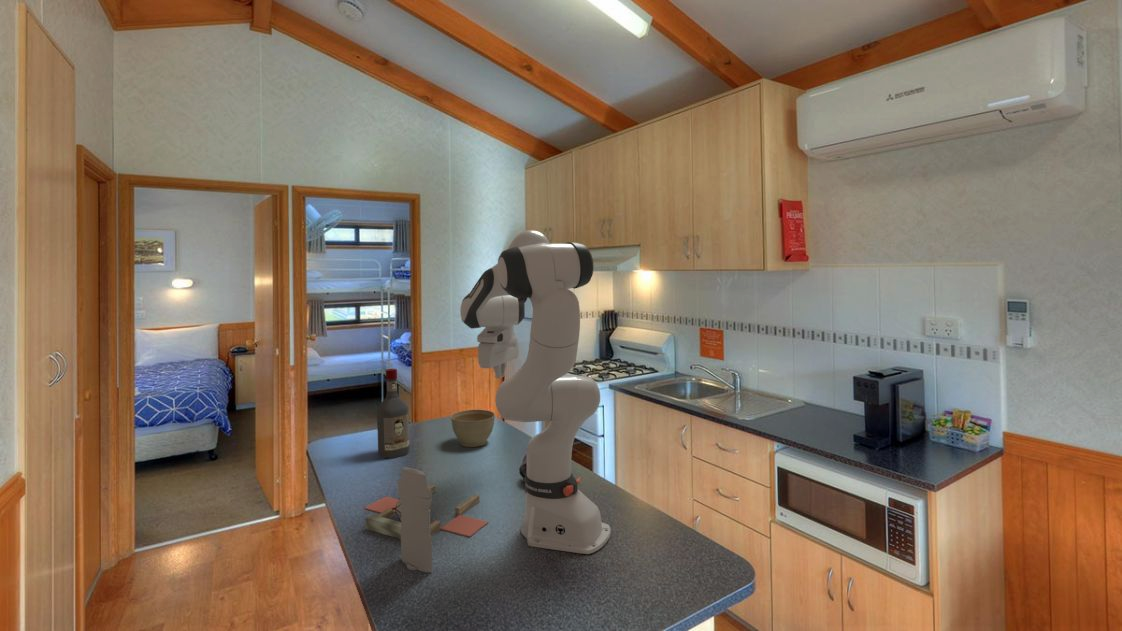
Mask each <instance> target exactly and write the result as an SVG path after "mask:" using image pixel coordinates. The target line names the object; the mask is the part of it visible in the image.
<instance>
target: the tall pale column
mask: <svg viewBox="0 0 1122 631" xmlns="http://www.w3.org/2000/svg"><path fill="white" fill-rule="evenodd" d="M429 486H430V485H429V483H428V477H427V474H426V473H425V472H423V471H421V470H418V469H416V468H414V467H412V468H411V467H406V466H404V467H402V468H401V474H400V478H399V479H398V481H397V491H398V493H397V494H398V497H399V499H400V500H401V501H400V503H401V521H400V522H402V524H401V539H400V554H401V556H400V558H401V562H403V564H405V565H406V568H407V569H408V570H410V571H417V572H421V573H425V574H431V573H433V571H434V570H433V542H432V541H433V539H432V536H431V534H430V524H431V507H432V503H433V501H432V500H433V499H432V498H433V497H432V496H433V495H432V493H431V489H430V488H429Z"/></svg>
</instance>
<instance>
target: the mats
mask: <svg viewBox="0 0 1122 631" xmlns="http://www.w3.org/2000/svg"><path fill="white" fill-rule="evenodd" d="M399 499H400V498H394V497H391V496H386V495H385V496H383V497H382V498H380V499H378V500H376V501H374V502H372V503H370V504H369V505H367V506H365V507H364V508H363V509H364V510H368V511H371V512H375V513H378V514H380V513H382V512H383V511H385V510H387V509H389V508H390V509H392V508H395V507H396V505H397V503H398V501H399ZM394 512H395V513H396V511H395V509H394V510H393V514H394ZM488 524H489V521H486V520H482V519H478V518H474V517H471V516H467V515H463V514H462V515H459V516H458V515H456V517H455V518H453V519H451V520H450V521H449V522H448V523H446V524H445V525H443V526H442V527H440V530H441V531H445V532H448V533H452V534H456V535H459V536H464V537H467V538H471V537H472V536H474V535H475V534H476V533H477V532H479V531H480V530H481V529H482V528H484V527H485V526H486V525H488Z"/></svg>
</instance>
